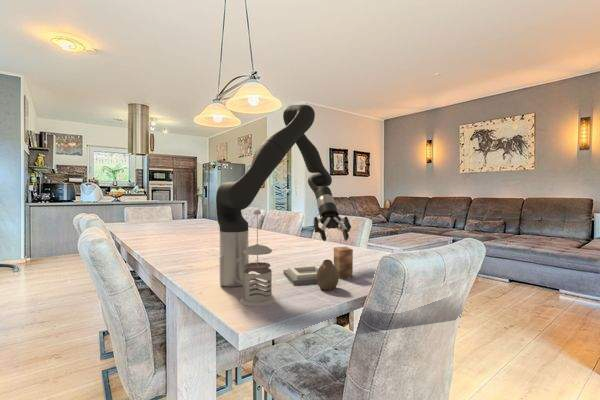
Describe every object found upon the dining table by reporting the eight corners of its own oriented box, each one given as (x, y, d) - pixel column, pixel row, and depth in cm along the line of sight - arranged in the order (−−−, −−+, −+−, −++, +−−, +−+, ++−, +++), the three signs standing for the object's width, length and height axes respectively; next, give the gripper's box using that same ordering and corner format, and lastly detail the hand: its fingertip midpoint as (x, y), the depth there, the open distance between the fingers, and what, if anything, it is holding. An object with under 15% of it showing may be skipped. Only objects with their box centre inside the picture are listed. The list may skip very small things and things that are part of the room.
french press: (279, 303, 83) (279, 210, 82) (236, 309, 79) (235, 211, 78) (270, 292, 92) (270, 208, 92) (230, 297, 88) (230, 209, 88)
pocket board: (293, 285, 99) (293, 276, 99) (283, 274, 113) (283, 266, 113) (334, 281, 103) (334, 273, 103) (319, 271, 117) (319, 264, 117)
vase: (323, 293, 92) (323, 263, 91) (312, 287, 98) (312, 259, 97) (343, 289, 95) (343, 261, 94) (330, 283, 101) (330, 257, 101)
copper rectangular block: (339, 278, 107) (339, 250, 106) (333, 275, 111) (333, 247, 111) (352, 277, 108) (352, 249, 108) (346, 274, 113) (346, 246, 112)
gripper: (312, 201, 124) (319, 234, 113) (345, 201, 127) (356, 233, 116) (308, 214, 129) (315, 246, 118) (341, 213, 132) (351, 244, 121)
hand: (335, 239), depth 117 cm, fingers open, 8 cm apart
